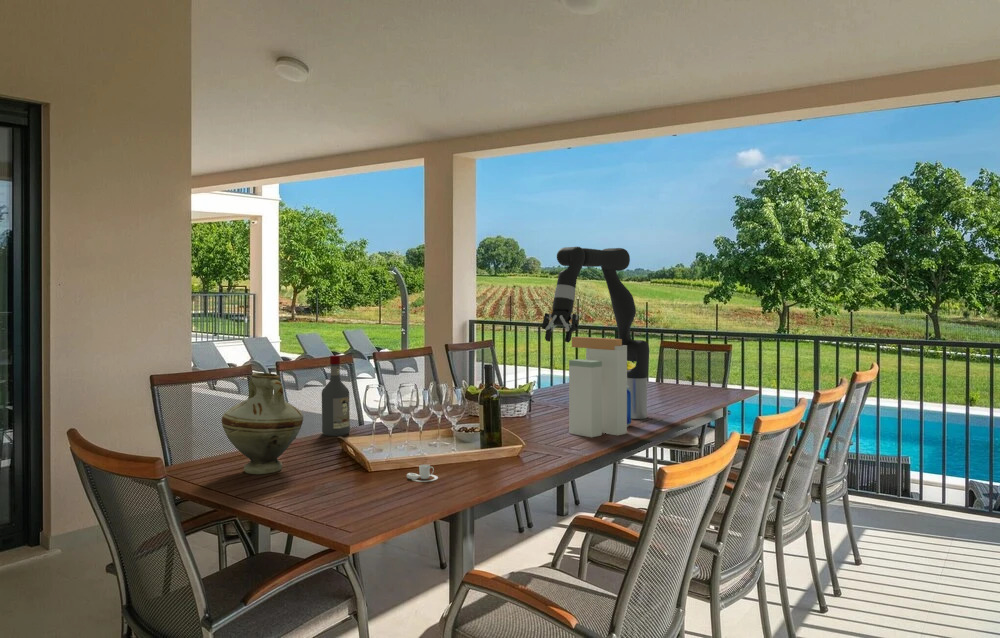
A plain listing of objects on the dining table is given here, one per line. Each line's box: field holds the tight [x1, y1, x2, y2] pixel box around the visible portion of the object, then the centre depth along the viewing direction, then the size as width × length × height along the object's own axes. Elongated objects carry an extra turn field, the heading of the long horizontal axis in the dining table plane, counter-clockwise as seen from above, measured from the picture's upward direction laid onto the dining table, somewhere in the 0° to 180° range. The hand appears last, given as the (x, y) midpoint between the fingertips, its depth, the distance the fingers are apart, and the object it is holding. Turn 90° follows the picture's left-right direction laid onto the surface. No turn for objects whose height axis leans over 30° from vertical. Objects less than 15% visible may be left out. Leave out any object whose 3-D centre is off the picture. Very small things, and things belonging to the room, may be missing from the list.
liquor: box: [321, 355, 351, 437], centre depth 277 cm, size 9×9×30 cm
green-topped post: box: [568, 358, 603, 438], centre depth 274 cm, size 11×6×28 cm, turn 44°
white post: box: [585, 345, 628, 436], centre depth 278 cm, size 15×6×34 cm, turn 44°
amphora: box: [221, 372, 304, 475], centre depth 221 cm, size 24×24×30 cm
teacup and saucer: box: [406, 464, 439, 483], centre depth 211 cm, size 9×8×4 cm
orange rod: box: [571, 336, 622, 350], centre depth 281 cm, size 22×4×4 cm, turn 44°
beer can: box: [627, 386, 632, 428], centre depth 291 cm, size 8×8×16 cm
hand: (557, 341), depth 265 cm, fingers open, 8 cm apart
